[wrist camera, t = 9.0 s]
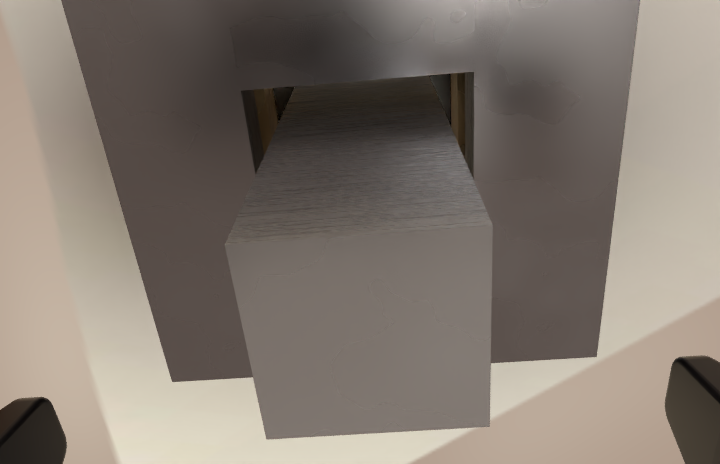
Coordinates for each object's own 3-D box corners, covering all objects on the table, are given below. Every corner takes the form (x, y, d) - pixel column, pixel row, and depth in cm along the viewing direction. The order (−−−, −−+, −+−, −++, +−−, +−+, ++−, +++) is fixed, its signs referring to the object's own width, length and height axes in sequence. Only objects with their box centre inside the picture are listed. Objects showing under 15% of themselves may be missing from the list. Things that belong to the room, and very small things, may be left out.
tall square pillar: (425, 67, 19) (493, 225, 9) (429, 186, 20) (489, 426, 11) (293, 79, 19) (214, 245, 9) (309, 195, 21) (258, 440, 11)
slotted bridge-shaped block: (582, -91, 17) (651, -97, 13) (554, 278, 22) (596, 356, 18) (123, -49, 17) (49, -41, 13) (206, 301, 23) (172, 381, 19)
